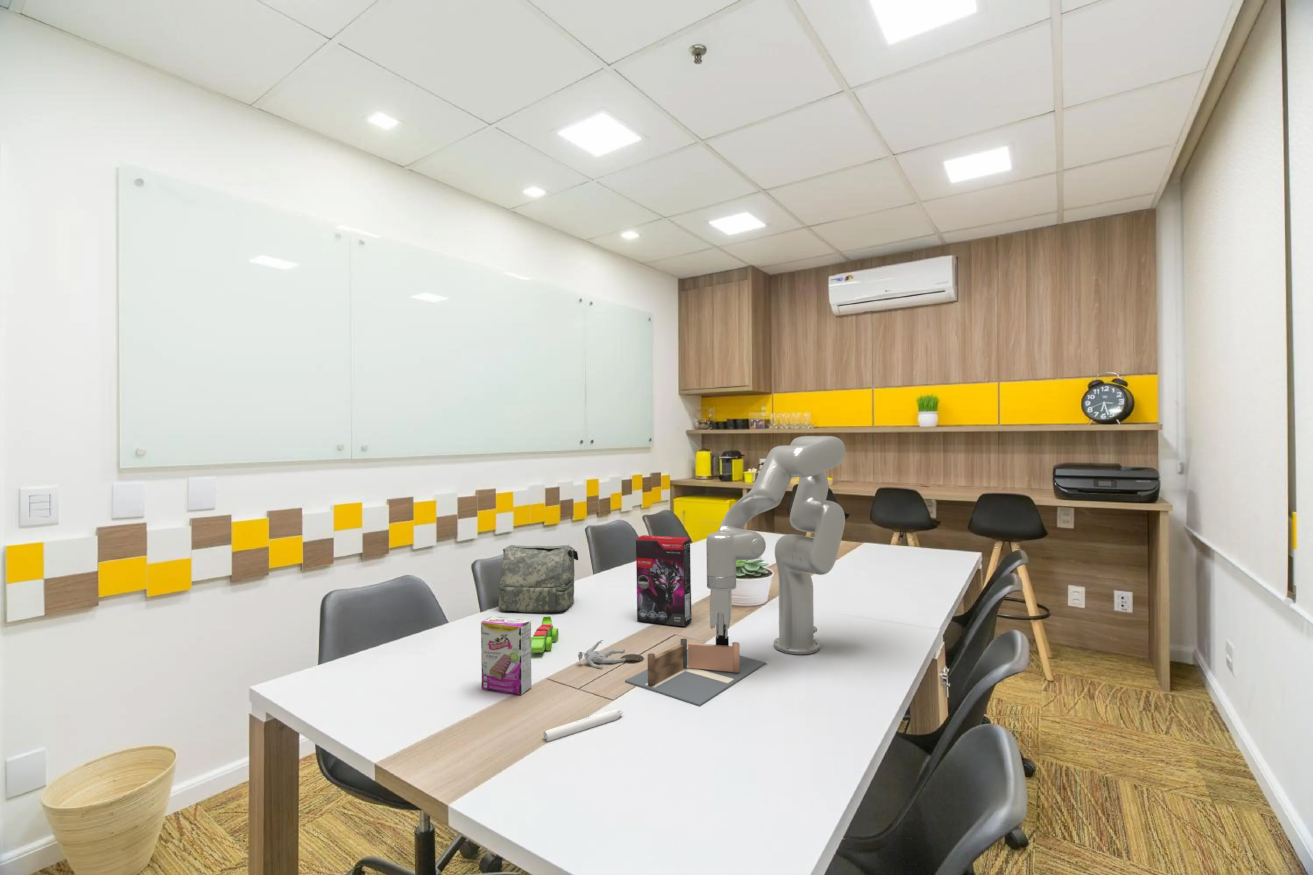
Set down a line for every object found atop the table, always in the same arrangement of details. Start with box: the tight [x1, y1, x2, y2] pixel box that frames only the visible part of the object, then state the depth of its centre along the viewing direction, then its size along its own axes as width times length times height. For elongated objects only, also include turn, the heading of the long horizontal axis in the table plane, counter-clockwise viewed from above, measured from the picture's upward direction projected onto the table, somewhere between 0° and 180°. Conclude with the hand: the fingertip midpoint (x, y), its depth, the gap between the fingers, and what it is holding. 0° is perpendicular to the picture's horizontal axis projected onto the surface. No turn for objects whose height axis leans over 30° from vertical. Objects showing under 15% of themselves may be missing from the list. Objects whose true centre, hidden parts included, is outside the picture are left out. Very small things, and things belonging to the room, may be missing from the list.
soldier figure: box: [577, 639, 626, 670], centre depth 160 cm, size 8×5×12 cm
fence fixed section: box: [647, 638, 688, 686], centre depth 150 cm, size 15×2×7 cm, turn 142°
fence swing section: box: [687, 641, 741, 673], centre depth 153 cm, size 13×2×7 cm, turn 75°
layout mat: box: [624, 648, 767, 707], centre depth 153 cm, size 31×22×1 cm
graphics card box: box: [635, 534, 693, 627], centre depth 195 cm, size 17×7×27 cm, turn 67°
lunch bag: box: [498, 544, 579, 613], centre depth 213 cm, size 26×18×22 cm
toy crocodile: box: [531, 615, 559, 654], centre depth 174 cm, size 20×7×6 cm, turn 177°
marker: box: [542, 709, 624, 743], centre depth 125 cm, size 18×2×2 cm, turn 125°
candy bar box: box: [480, 616, 532, 696], centre depth 144 cm, size 11×5×16 cm, turn 71°
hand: (722, 652), depth 155 cm, fingers closed
